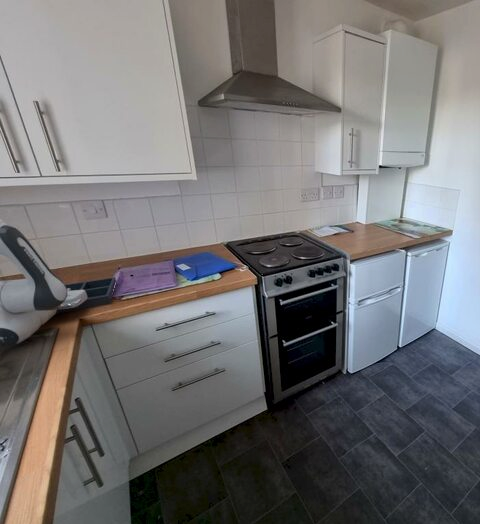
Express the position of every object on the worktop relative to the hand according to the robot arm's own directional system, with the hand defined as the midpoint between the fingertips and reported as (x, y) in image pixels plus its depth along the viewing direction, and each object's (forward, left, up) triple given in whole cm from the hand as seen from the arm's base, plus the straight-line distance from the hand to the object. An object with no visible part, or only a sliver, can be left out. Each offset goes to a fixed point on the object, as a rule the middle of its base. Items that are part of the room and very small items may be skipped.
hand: (60, 290), depth 108 cm
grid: (+4, +4, -6) cm, 9 cm away
